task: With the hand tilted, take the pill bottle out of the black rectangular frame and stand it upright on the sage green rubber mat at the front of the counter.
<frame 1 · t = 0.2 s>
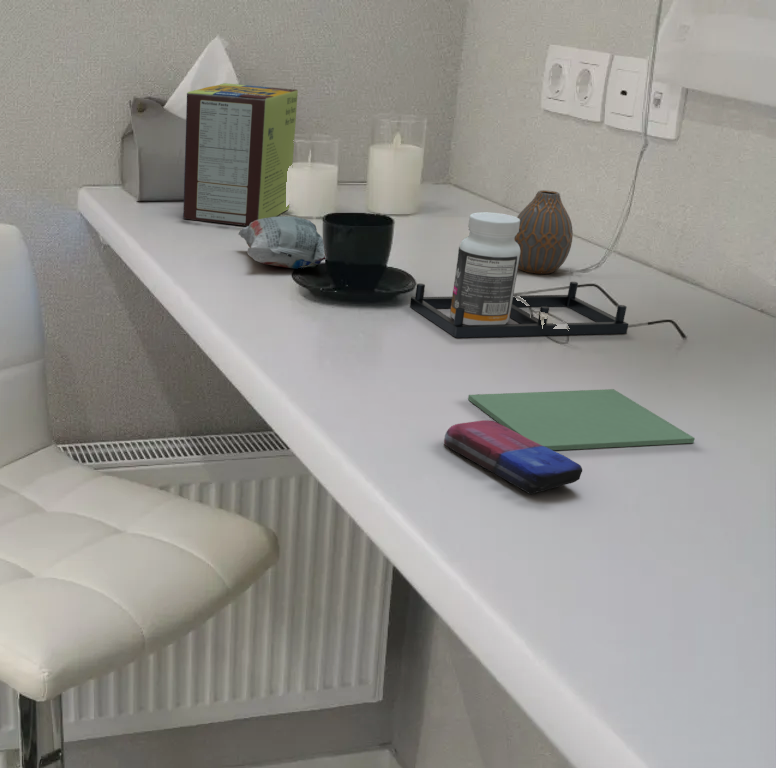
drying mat: (577, 420, 89), on the worktop
protein box: (237, 215, 155), on the worktop
packaged food: (278, 265, 131), on the worktop
eraser: (507, 470, 79), on the worktop
vase: (535, 271, 135), on the worktop
black rectangular frame: (516, 320, 114), on the worktop
pill bottle: (478, 322, 113), resting in black rectangular frame
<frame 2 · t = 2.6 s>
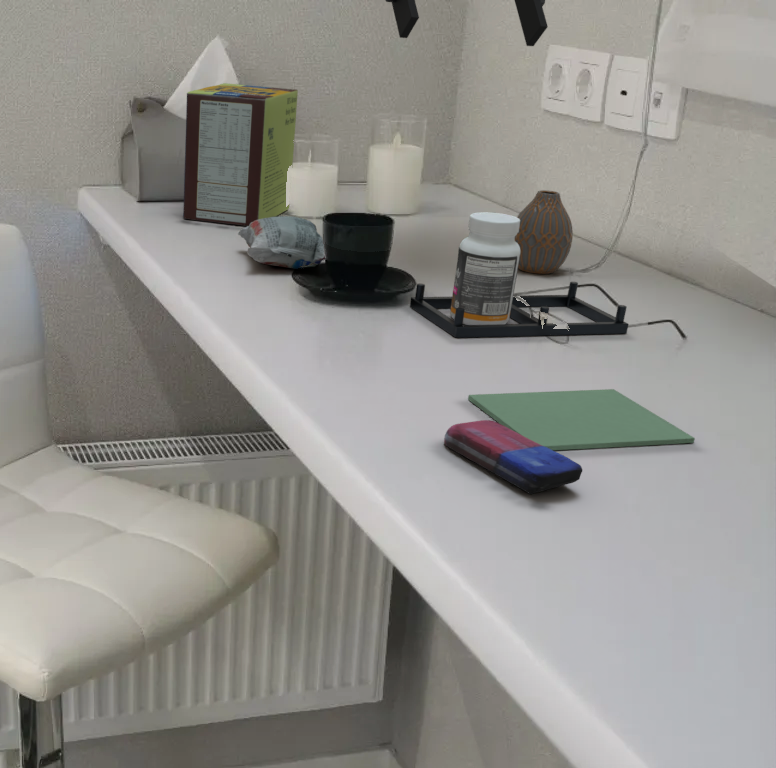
hand: (474, 32, 110), 25 cm above the worktop, tool tilted 45°, fingers open, 13 cm apart
nothing on the worktop moved.
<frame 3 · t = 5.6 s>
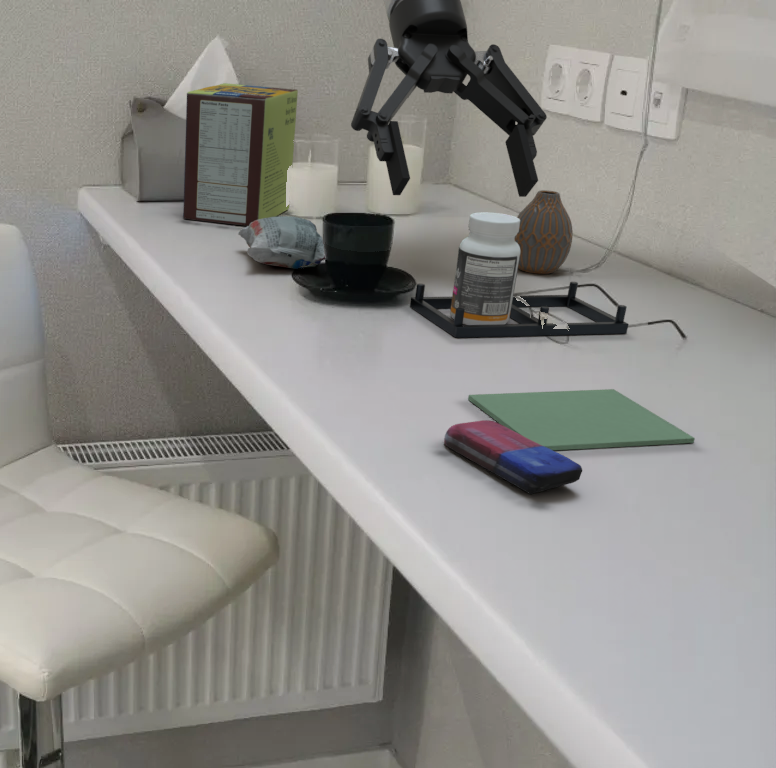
hand: (466, 188, 114), 11 cm above the worktop, tool tilted 45°, fingers open, 13 cm apart
nothing on the worktop moved.
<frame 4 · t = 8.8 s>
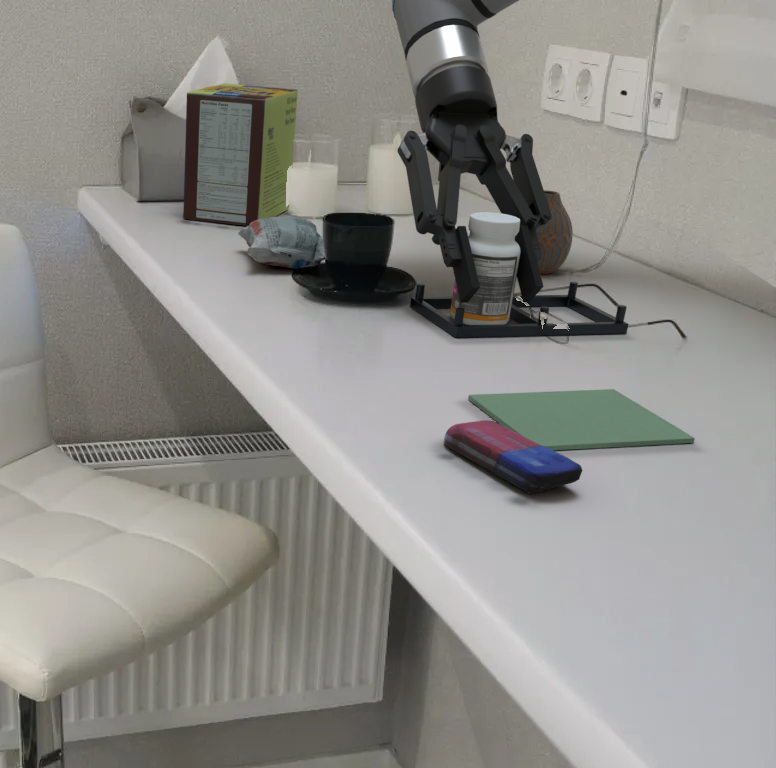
hand: (501, 294, 109), 4 cm above the worktop, tool tilted 45°, fingers closed on pill bottle, 6 cm apart
pill bottle: (478, 322, 113), resting in black rectangular frame, touching gripper
everything else where it was.
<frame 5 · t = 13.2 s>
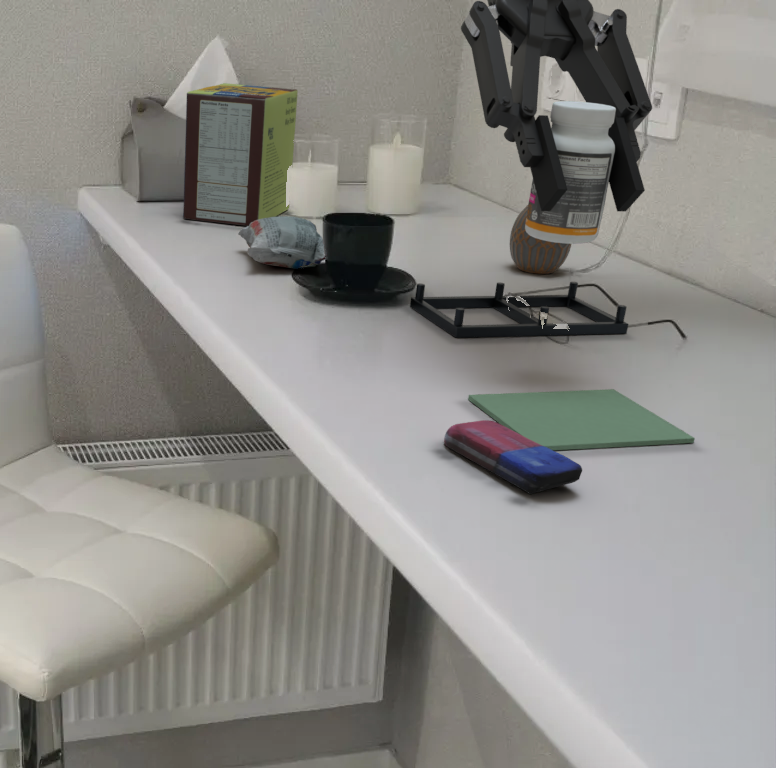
hand: (592, 200, 88), 15 cm above the worktop, tool tilted 45°, fingers closed on pill bottle, 6 cm apart
pill bottle: (559, 240, 92), point 12 cm above the worktop, touching gripper
everything else where it was.
when the fingers open (4 cm above the worktop, at t = 17.9 s): pill bottle stays where it is, resting on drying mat.
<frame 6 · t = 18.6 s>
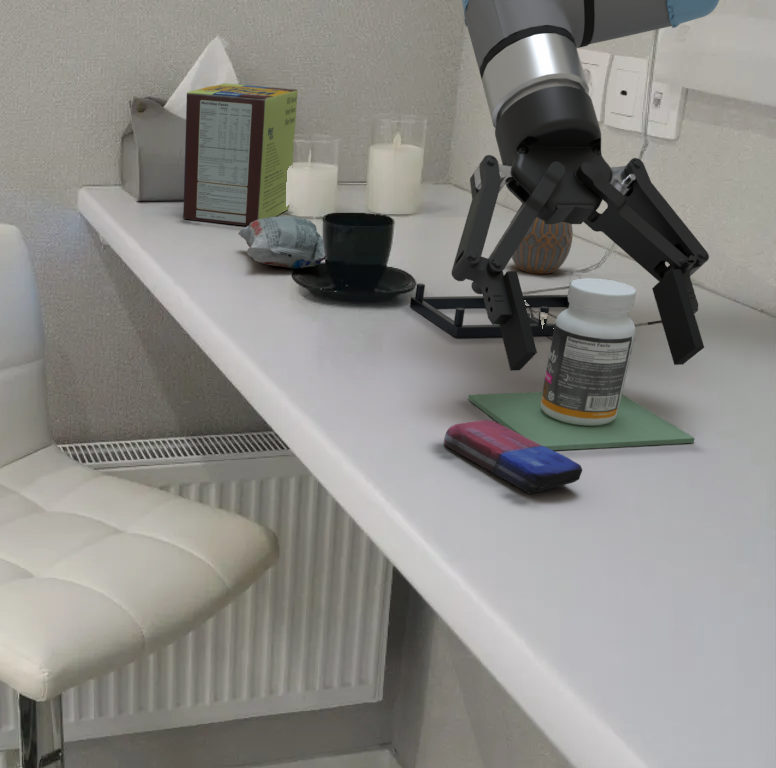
hand: (608, 359, 84), 6 cm above the worktop, tool tilted 45°, fingers open, 13 cm apart
pill bottle: (577, 417, 89), resting on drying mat
everything else where it was.
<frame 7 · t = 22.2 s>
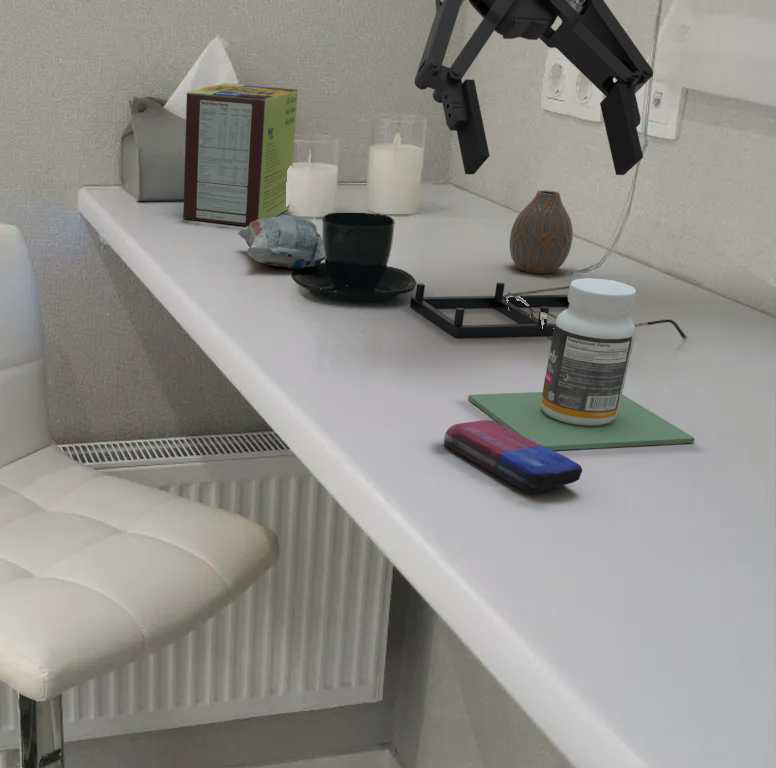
hand: (555, 166, 92), 17 cm above the worktop, tool tilted 40°, fingers open, 13 cm apart
nothing on the worktop moved.
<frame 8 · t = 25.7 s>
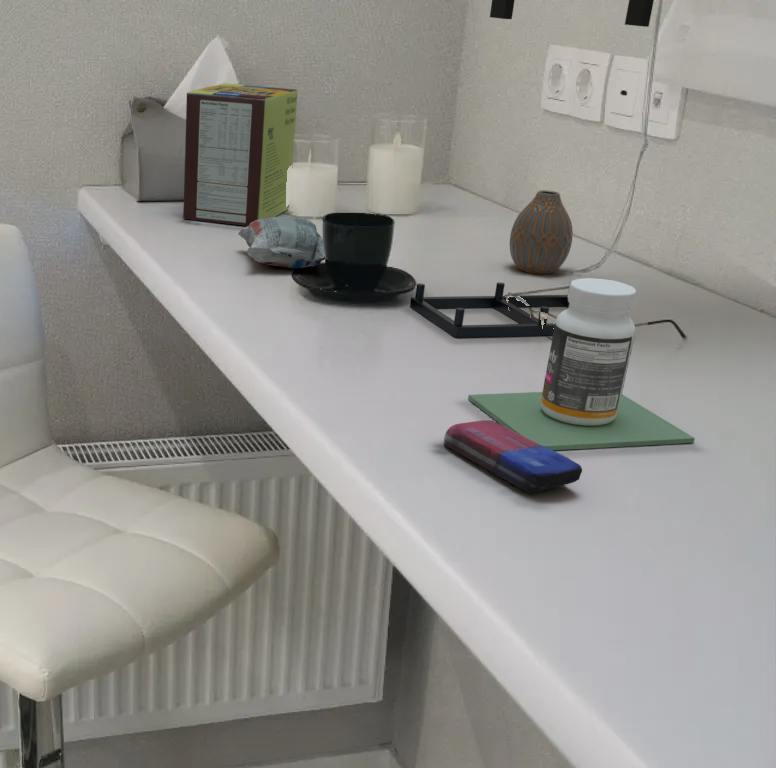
hand: (569, 22, 104), 27 cm above the worktop, tool pointing down, fingers open, 13 cm apart
nothing on the worktop moved.
at the end: pill bottle inside the target area on the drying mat (0.1 cm from its centre), point 0.2 cm above the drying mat's base; pill bottle tilted 0°; the gripper is holding nothing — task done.
